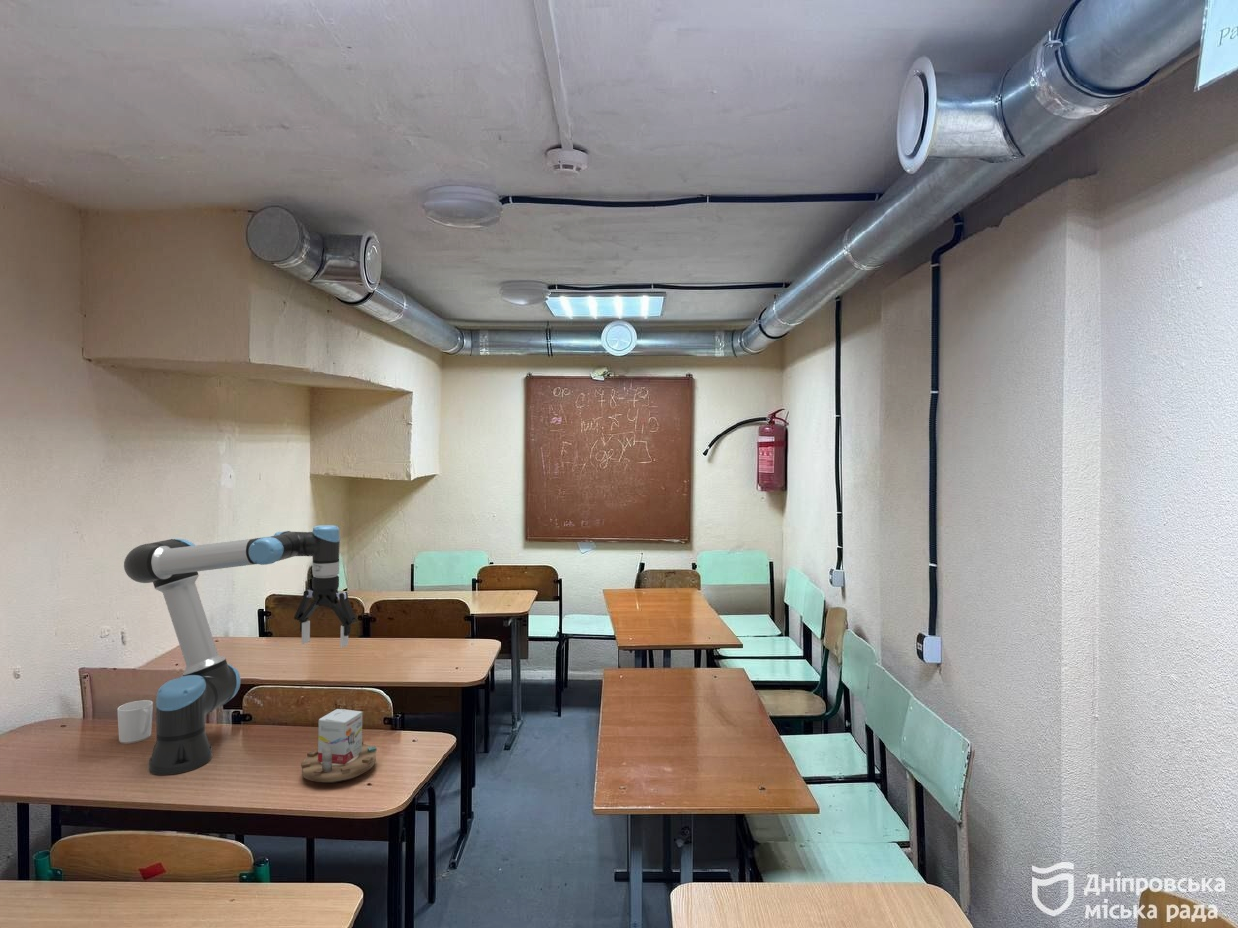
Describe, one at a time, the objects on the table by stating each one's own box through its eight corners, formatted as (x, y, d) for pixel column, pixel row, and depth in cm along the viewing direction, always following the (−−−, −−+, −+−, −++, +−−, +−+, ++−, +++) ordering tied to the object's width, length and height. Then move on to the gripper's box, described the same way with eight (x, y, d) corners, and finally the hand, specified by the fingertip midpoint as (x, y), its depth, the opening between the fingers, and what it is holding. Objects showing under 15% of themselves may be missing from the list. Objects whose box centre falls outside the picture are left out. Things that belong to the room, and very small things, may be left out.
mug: (110, 741, 199) (110, 708, 199) (141, 730, 208) (141, 698, 208) (133, 747, 195) (133, 713, 195) (163, 736, 203) (163, 703, 203)
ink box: (344, 764, 175) (344, 721, 175) (316, 761, 177) (317, 718, 177) (363, 750, 184) (363, 709, 184) (336, 748, 186) (336, 707, 186)
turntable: (296, 760, 183) (297, 732, 183) (368, 744, 194) (368, 717, 194) (306, 789, 167) (306, 758, 167) (383, 770, 178) (383, 741, 178)
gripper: (282, 575, 197) (281, 644, 198) (354, 580, 192) (353, 651, 192) (299, 571, 205) (298, 638, 205) (369, 575, 199) (368, 644, 199)
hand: (324, 644), depth 198 cm, fingers open, 13 cm apart
